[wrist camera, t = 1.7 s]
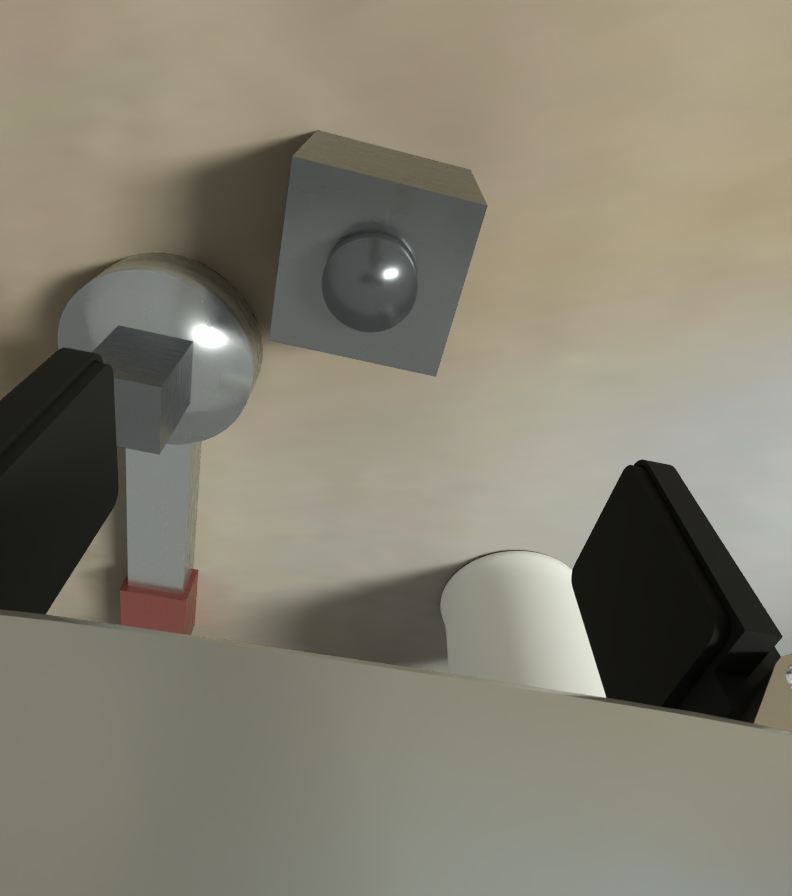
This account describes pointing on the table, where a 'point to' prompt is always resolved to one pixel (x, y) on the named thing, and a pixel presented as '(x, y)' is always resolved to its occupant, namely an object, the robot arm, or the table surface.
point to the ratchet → (165, 408)
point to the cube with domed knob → (373, 252)
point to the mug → (518, 624)
